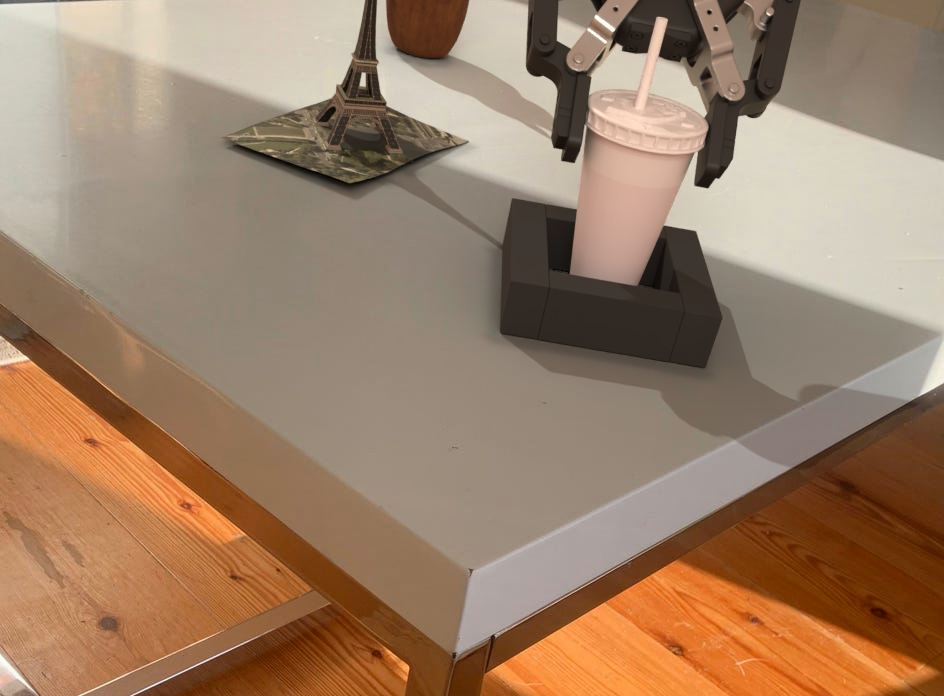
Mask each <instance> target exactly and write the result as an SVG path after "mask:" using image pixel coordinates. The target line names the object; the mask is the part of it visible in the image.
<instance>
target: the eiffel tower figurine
mask: <svg viewBox="0 0 944 696" xmlns="http://www.w3.org/2000/svg"><path fill="white" fill-rule="evenodd" d="M377 11H378V0H364V4H363V11H362V16H361V23H360V27H359V32H358V37H357V40H356V44H355V49H354V51H353V52H351V54H350V56H352V59H351V61H350V64H349V66H348V69H347V71H346V73H345V76H344V78H343V80H342V82H341V84H338V83H337V84H335V93H334V94H333V96H332V97H331V98H328V99H325V100H322V101H320V102H316V103H314V104H311V105H307V106H304V107H301V108H297V109H295V110H294V109H293V110H291V111H288V112H286V113H283V114H280V115H276V116H275V117H272V118H269V119H266V120H264V121H260V122H258V123H255V124H253V125H249V126H247V127H245V128H243V129H240V130H237V131H235V132H232V133H229V134H227V135H223V136H221V137H220V138H221V139H223V140H226V141H229V142H232V143H234V144H237V145H239V146H242V147H245V148H248V149H251V150H253V151H256V152H258V153H261V154H265V155H267V156H270V157H273V158H275V159H279V160H282V161H284V162H287V163H291V164H293V165H296V166H299V167H301V168H305V169H307V170H311V171H314V172H318V173H320V174H323V175H326V176H329V177H332V178H334V179H337V180H340V181H343V182H344V183H347V184H352V183H356V182H357V183H358V182H361V181H365V180H368V179H372V178H377V177H378V176H382V175H384V174H387V173H390V172H392V171H393V170H395V169H397V168H399V167H401V166H404V165H405V164H406V163H407V164H408V163H414V160H415V159H417V158H420V157H423V156H424V155H427V154H430V153H433V152H436V151H439V150H443V149H447V148H452V147H455V146H459V145H461V144H465V143H469V142H470V141H469V140H466V139H465V138H462V137H460V136H458V135H455V134H452V133H450V132H447V131H445V130H442V129H440V128H437V127H435V126H433V125H430V124H428V123H425V122H423V121H420V120H418V119H416V118H414V117H411V116H409V115H407V114H404V113H403V112H400V111H399V110H396V109H394V108H392V107H390V106H388V105H387V103H388V102H387V100H386V99H385V97H384V96H383V93H382V92H381V86H380V80H379V79H380V78H379V72H378V65H379V64H380V61H379V60H378V58H377ZM363 74H365V86H363V85H361V79H362V75H363Z"/></svg>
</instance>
